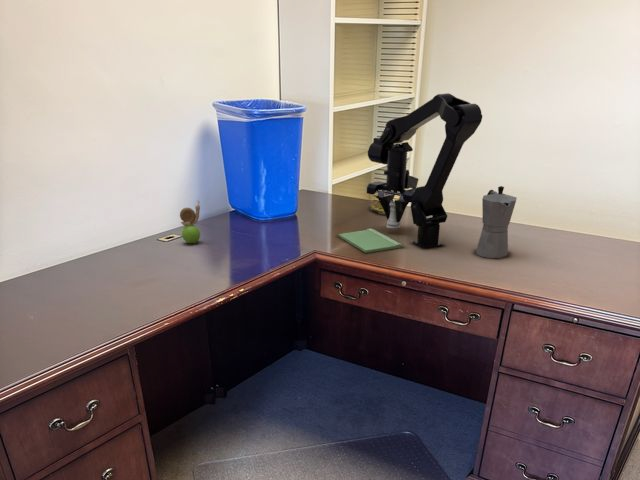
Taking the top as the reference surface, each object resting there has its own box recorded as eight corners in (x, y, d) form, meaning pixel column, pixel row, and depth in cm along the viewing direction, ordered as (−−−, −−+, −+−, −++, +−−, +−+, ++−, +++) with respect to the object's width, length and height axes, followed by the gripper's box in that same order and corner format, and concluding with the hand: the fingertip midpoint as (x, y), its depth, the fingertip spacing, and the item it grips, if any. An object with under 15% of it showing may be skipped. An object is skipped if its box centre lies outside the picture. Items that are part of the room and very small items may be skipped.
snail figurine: (206, 244, 180) (201, 202, 173) (185, 246, 178) (179, 205, 171) (202, 239, 184) (197, 198, 177) (181, 241, 182) (175, 200, 175)
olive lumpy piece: (365, 209, 215) (380, 219, 203) (364, 195, 212) (379, 205, 200) (389, 204, 216) (406, 213, 204) (388, 190, 214) (405, 199, 202)
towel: (402, 247, 174) (402, 243, 174) (365, 253, 170) (365, 249, 170) (373, 231, 188) (373, 228, 187) (338, 236, 184) (338, 233, 183)
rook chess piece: (383, 226, 187) (384, 199, 182) (396, 224, 188) (398, 198, 184) (390, 230, 183) (391, 203, 179) (403, 228, 185) (404, 201, 180)
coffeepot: (515, 260, 163) (527, 191, 153) (482, 261, 163) (491, 192, 153) (497, 243, 176) (507, 178, 166) (466, 244, 176) (474, 179, 166)
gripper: (438, 166, 175) (434, 221, 184) (390, 159, 186) (387, 210, 195) (415, 172, 168) (411, 228, 177) (366, 164, 180) (364, 217, 188)
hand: (393, 220), depth 185 cm, fingers closed on rook chess piece, 3 cm apart
